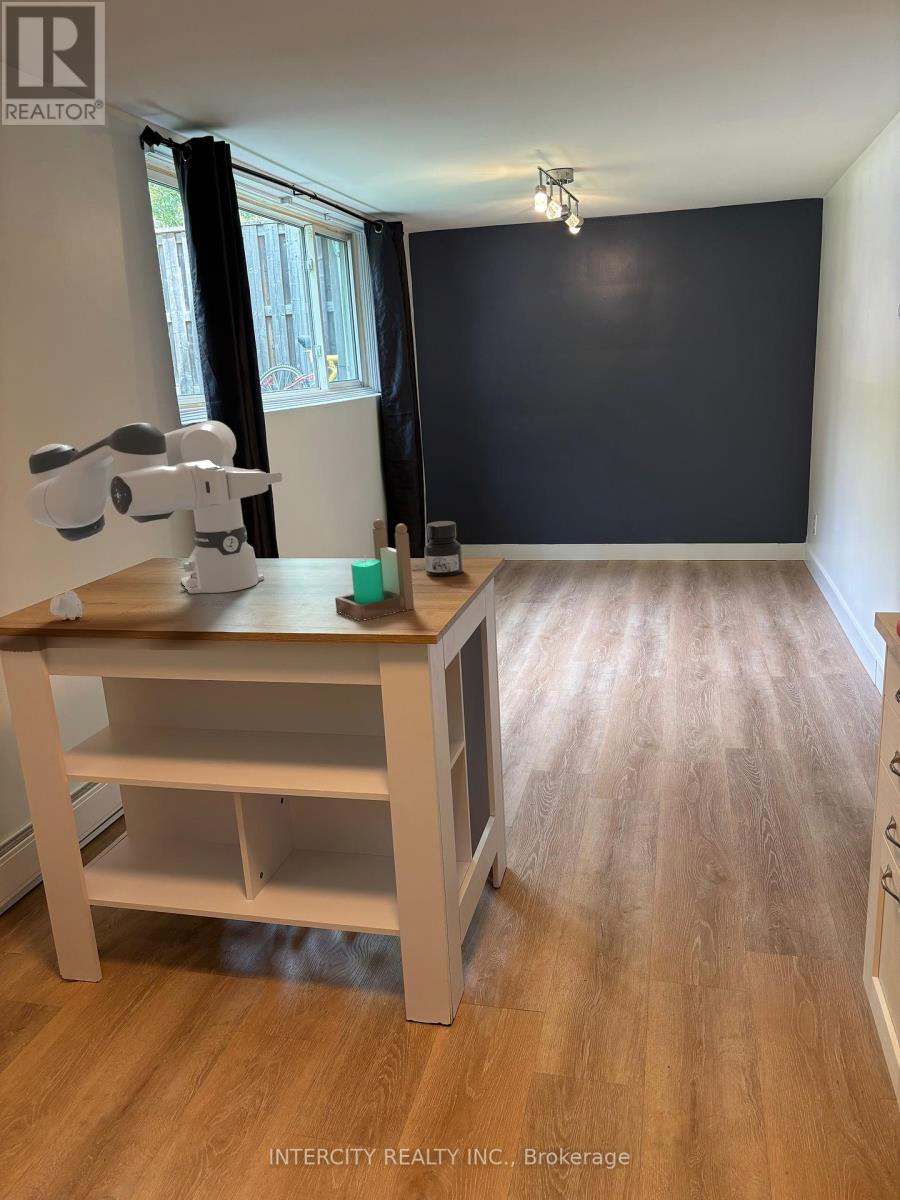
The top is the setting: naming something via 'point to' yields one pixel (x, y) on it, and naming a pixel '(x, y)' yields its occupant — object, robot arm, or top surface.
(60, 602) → the elephant figurine
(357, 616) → the shallow open wooden box
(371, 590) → the candle
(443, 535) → the ink bottle
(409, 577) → the headboard
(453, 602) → the top surface
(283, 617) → the top surface
